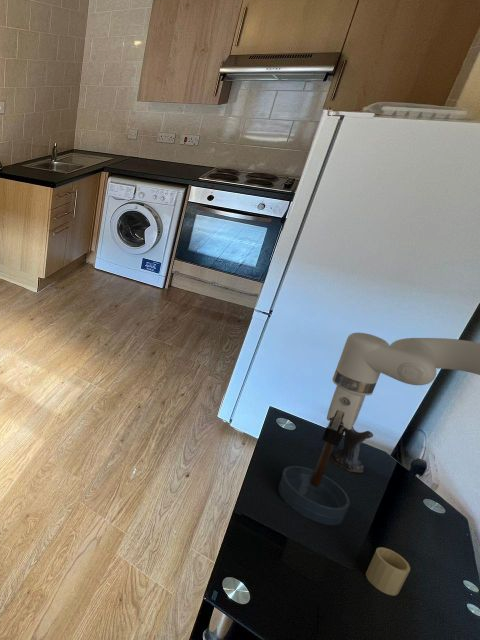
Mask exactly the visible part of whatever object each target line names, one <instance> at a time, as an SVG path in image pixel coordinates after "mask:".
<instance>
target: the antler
mask: <svg viewBox="0 0 480 640" xmlns="http://www.w3.org/2000/svg"><path fill="white" fill-rule="evenodd" d="M343 429H345V431H344V439H343V448H338V450H337V451H335V453H331V457H330V458H331V459H330V460H331V462H332V463H333V464H335V465H337V466H338V467H340V468H342V469H344V470H346V471H348V472H351V473H364V467H365V466H364V465H363V464H362V461H361V460H359V455H360V446H361V444H362V443H363V442H365V441H366V440H367V439H371V438H373V437H374V434H373V432H371V431H370V430H366V431H362V432H358V431H357V430H356V429H355V428H354V426H353V427H352V429H350V430H348V429H347V428H343Z"/></svg>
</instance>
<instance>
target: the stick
mask: <svg viewBox="0 0 480 640" xmlns="http://www.w3.org/2000/svg"><path fill="white" fill-rule="evenodd" d="M339 427H341V426H340V425H339ZM334 447H335V446H334V445H332V444H330V443H328V442H326V441H324V445H323V448H322V449H321V452H320V455H319V458H318V460H317V463H316V466H315V469H314V470H315V471H314V474H313V476H312V479H311V482H310V483H311V484H312V485H313V486H315V487H319V484H320V482H321V479H322V476H323V475H325V474H324V473H325V471H326V468H327V466H328V464H329V463H328V462H329V460H330V458H331V456H332V454H333V450H334Z"/></svg>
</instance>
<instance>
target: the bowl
mask: <svg viewBox="0 0 480 640" xmlns="http://www.w3.org/2000/svg"><path fill="white" fill-rule="evenodd" d="M314 471H315V469H312V468H309V467H305V466H300V465H289V466H287V467H285V468H284V469H283V471H282V474H281V476H280V480H279V483H278V487H277V489H278V493H279V495H280V497H281V498H282V499H283V501H284V502H285V504H287V505H288V506H289V507H290V508H291V509H292V510H293V511H294V512H297V513H298V514H300V515H301V516H302V517H304V518H306V519H309V520H310V521H313V522H315V523H318V524H322V525H327V526H338V525H341V524H342V523H343V522H344V520H345V518H346V516H347V513H348V510H349V508H350V505H351V500H350V498H349V496H348V495H349V494H348V493H347V492H346V490H344V489H343V488H342V486H341V485H339V484H338V483H337V482H336V481H335V480H333V479H332V478H330V477H328V476H326V475H325V474H323V476H322V479H321V482H320V484H319V487H315V486H313V485H312V484H311V483H310V482H311V479H312V476H313V474H314Z"/></svg>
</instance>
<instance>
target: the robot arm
mask: <svg viewBox="0 0 480 640" xmlns="http://www.w3.org/2000/svg"><path fill="white" fill-rule="evenodd" d="M437 369H442V370H452V371H453V370H454V371H461V372H466V373H471V374H474V375H477V376H480V342H477V341H472V340H466V339H456V338H444V337H443V338H441V337H406V338H405V337H404V338H400V339H397V340H394V341H393V342H391V344H389V343H388V341H386V340H385V339H384V338H381V337H380V336H376V335H373V334H371V333H365V332H352V333H350V334H349V335H348V336H347V338H346V340H345V343H344V346H343V349H342V352H341V355H340V358H339V360H338V362H337V365H336V368H335V371H334V374H333V377H332V382H333V384H334V385H336V386H335V390H334V393H333V395H332V398H331V401H330V404H329V407H328V411H327V414H326V420H327V422H328V425H327V426H326V427H325V430H324V433H323V436H322V439H321V440H322V441H324V442H328V443H330V444H332V445H334V447H339V445H340V443H341V441H342V439H343V437H344V435H345V429H344V428H347V429H348V430H350V429H352V427H353V428H354V425H355V424H356V421H357V419H358V417H359V414H360V412H361V409H362V407H363V404H364V401H365V398H366V396H367V397H368V396H371V395H373V393H374V390H375V388H376V385H377V383H378V380H379V378H380V375H381V374H383V375H385V376H386V377H390V378H392V379H393V380H396V381H398V382H401V383H404V384H406V385H411V386H425V385H429V384H430V383H432V382H433V381H434V380H435V378H436V377H437ZM339 425H340V426H341V427H339Z"/></svg>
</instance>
